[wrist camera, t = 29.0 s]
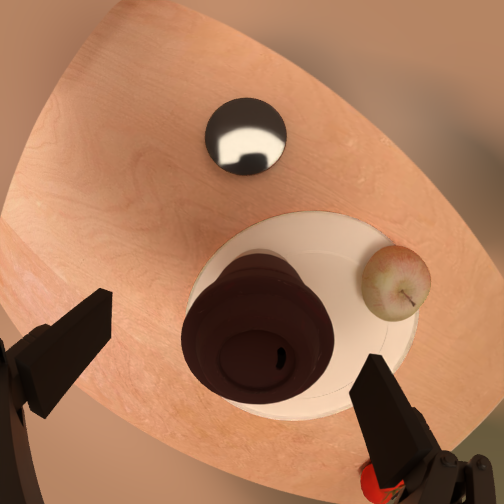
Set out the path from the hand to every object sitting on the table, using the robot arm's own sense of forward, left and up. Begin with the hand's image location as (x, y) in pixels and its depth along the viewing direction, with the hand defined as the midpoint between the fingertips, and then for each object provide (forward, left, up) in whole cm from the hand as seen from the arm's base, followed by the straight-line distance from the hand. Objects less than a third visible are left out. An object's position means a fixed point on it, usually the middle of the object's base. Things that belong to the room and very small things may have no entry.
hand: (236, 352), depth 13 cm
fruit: (-2, +15, -18) cm, 23 cm away
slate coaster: (-12, -3, -18) cm, 22 cm away
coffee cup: (+2, +2, -18) cm, 18 cm away
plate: (+7, +9, -18) cm, 21 cm away
